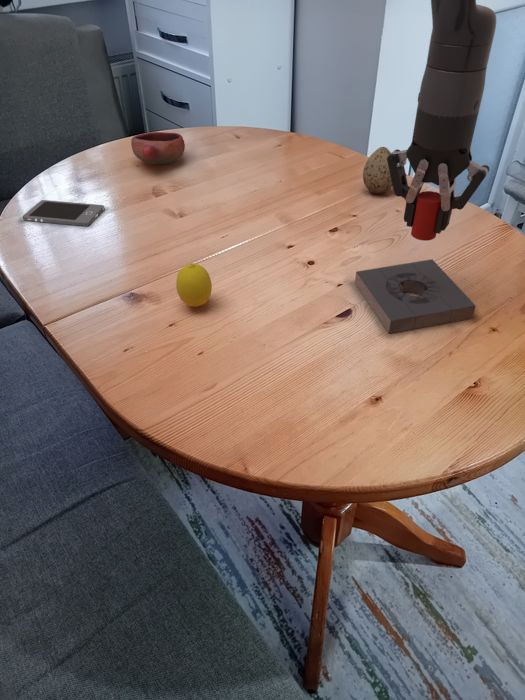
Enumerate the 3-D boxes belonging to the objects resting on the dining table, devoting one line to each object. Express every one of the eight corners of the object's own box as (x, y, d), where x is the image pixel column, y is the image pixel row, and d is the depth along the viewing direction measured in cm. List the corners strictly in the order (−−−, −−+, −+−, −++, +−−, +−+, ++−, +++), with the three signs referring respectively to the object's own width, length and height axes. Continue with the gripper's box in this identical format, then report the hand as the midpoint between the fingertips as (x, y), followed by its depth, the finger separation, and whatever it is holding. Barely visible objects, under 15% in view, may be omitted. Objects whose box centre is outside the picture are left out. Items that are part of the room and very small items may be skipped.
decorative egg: (392, 185, 120) (399, 141, 114) (395, 200, 115) (402, 153, 109) (360, 185, 121) (364, 140, 115) (361, 199, 116) (366, 153, 109)
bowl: (129, 159, 136) (123, 127, 130) (177, 150, 139) (173, 118, 134) (146, 183, 124) (140, 148, 119) (198, 172, 128) (195, 139, 123)
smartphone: (21, 220, 112) (20, 217, 111) (42, 202, 118) (41, 199, 117) (87, 226, 109) (86, 223, 108) (105, 208, 115) (104, 205, 114)
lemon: (173, 312, 87) (166, 269, 81) (189, 293, 90) (184, 252, 85) (204, 319, 85) (199, 276, 80) (219, 300, 89) (215, 258, 83)
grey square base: (429, 271, 94) (432, 259, 92) (472, 318, 84) (476, 305, 82) (354, 283, 91) (355, 271, 90) (388, 333, 81) (391, 320, 80)
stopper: (428, 227, 81) (436, 189, 77) (440, 238, 79) (448, 200, 75) (406, 230, 81) (413, 192, 77) (417, 242, 78) (425, 203, 74)
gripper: (513, 103, 67) (480, 228, 78) (404, 89, 73) (387, 207, 84) (500, 121, 62) (466, 251, 74) (384, 104, 68) (369, 227, 79)
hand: (424, 227), depth 79 cm, fingers closed on stopper, 3 cm apart
